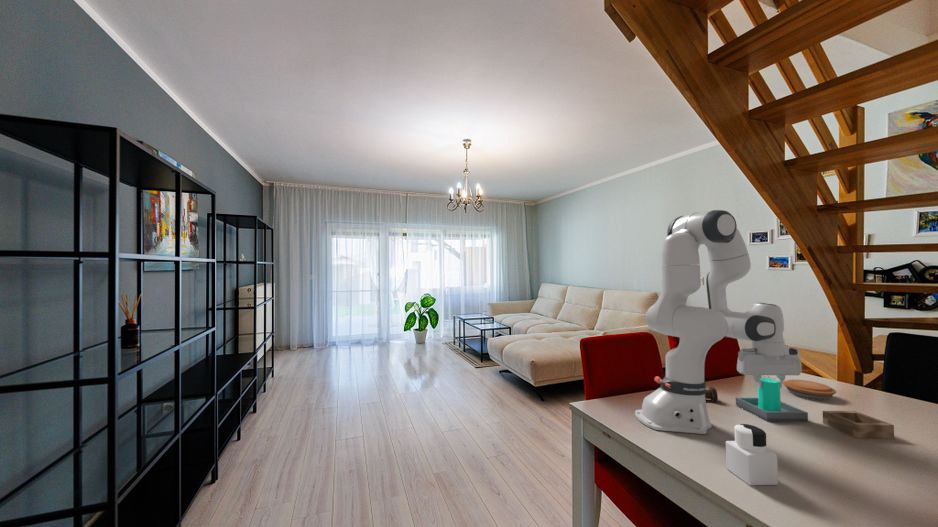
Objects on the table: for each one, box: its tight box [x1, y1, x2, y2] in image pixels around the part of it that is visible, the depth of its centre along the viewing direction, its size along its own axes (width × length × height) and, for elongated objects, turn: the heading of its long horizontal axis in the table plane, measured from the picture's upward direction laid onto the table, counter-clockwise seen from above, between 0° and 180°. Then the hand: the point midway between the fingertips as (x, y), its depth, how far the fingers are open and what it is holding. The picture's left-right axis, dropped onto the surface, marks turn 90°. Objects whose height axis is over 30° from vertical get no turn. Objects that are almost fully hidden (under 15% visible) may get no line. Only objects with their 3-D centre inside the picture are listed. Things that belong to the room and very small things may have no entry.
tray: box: [735, 397, 809, 423], centre depth 120 cm, size 14×14×3 cm
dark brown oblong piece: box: [705, 386, 719, 403], centre depth 135 cm, size 6×5×15 cm
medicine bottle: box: [725, 423, 779, 486], centre depth 83 cm, size 7×7×12 cm
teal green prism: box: [757, 375, 782, 412], centre depth 121 cm, size 6×6×12 cm
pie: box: [782, 379, 837, 401], centre depth 138 cm, size 15×16×5 cm
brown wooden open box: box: [822, 410, 895, 440], centre depth 107 cm, size 10×10×4 cm
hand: (769, 387), depth 121 cm, fingers closed on teal green prism, 5 cm apart
